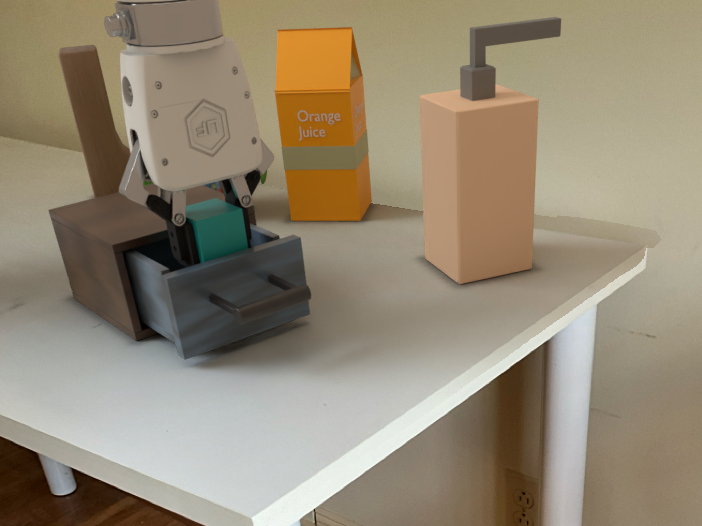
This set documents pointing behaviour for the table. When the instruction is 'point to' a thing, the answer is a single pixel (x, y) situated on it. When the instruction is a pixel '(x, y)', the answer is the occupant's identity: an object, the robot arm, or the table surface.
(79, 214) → the cabinet
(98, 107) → the wooden block
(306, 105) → the orange juice
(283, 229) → the table surface
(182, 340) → the drawer
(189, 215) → the teal matte cube
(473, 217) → the soap dispenser
